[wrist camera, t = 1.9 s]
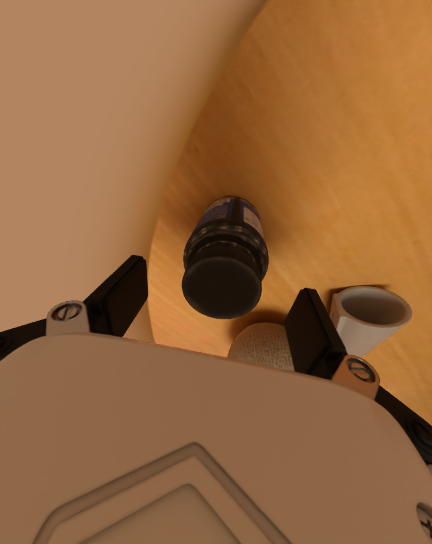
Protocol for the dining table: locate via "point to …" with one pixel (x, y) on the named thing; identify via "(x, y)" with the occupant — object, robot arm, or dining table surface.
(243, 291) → the pill bottle
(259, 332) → the fruit
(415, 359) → the dining table surface
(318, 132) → the dining table surface
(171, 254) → the dining table surface
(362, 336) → the long tapered cone
